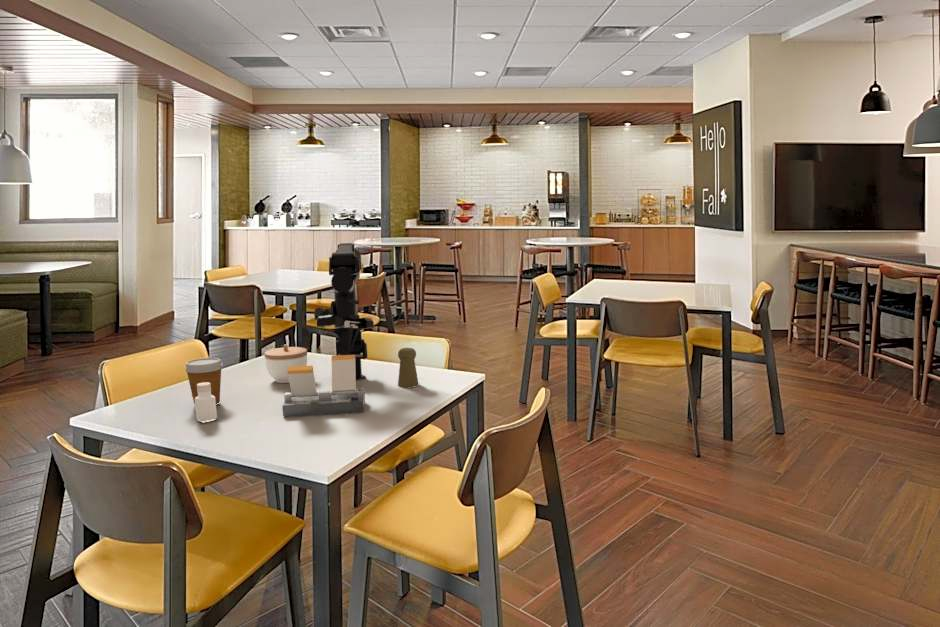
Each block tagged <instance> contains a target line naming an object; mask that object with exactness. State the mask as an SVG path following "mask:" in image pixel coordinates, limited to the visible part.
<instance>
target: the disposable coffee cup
mask: <svg viewBox="0 0 940 627" xmlns="http://www.w3.org/2000/svg"><path fill="white" fill-rule="evenodd" d="M223 366H224V363H223V362H222V360H221V358H219V357H203V358H195V359H192V360H189V361H186V363H185V366H184V370H185V372H186V374H187V378H188V382H189V387H190V392H191V396H192V400H193V405H194V404H195V398H196V397H197V396H198V392H197V384H199V383H203V382H209V383H211V395H213V396H215V401H216V404H217V403H219V402H220V401H221V383H222V382H221V380H222V368H223Z"/></svg>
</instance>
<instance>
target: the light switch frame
mask: <svg viewBox="0 0 940 627" xmlns="http://www.w3.org/2000/svg"><path fill="white" fill-rule="evenodd" d="M291 394H292V392H285V393H284V394H283V398H284V402H283V403H282V417H283V416H295V417H309V415H310V416H311V415H313V416H328V415H331V416H332V415H346V414H347V413H348V415H349V414H363V413H365V406H366V392H365V389H364V388H358V390H357V394H345V395H331V390H329V389H328V390H319V391H318V396H307V397H291ZM311 417H312V416H311Z"/></svg>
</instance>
